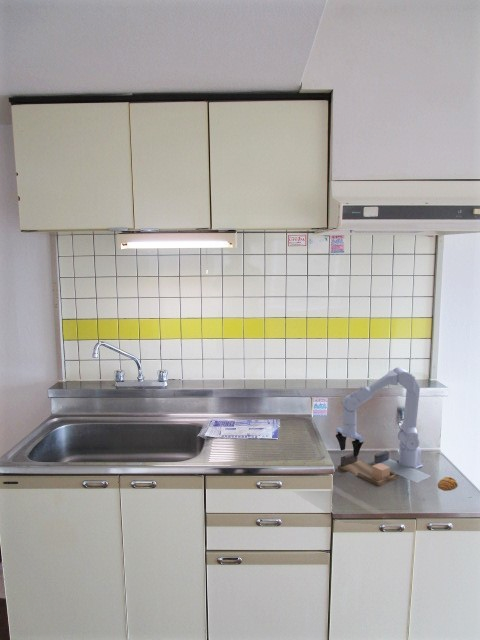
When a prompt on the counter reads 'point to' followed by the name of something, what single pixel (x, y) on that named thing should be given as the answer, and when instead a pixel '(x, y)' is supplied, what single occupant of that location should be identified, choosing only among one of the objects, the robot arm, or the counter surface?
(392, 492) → the counter surface
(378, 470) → the terracotta block
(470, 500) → the counter surface
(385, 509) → the counter surface
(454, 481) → the pastry
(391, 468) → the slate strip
